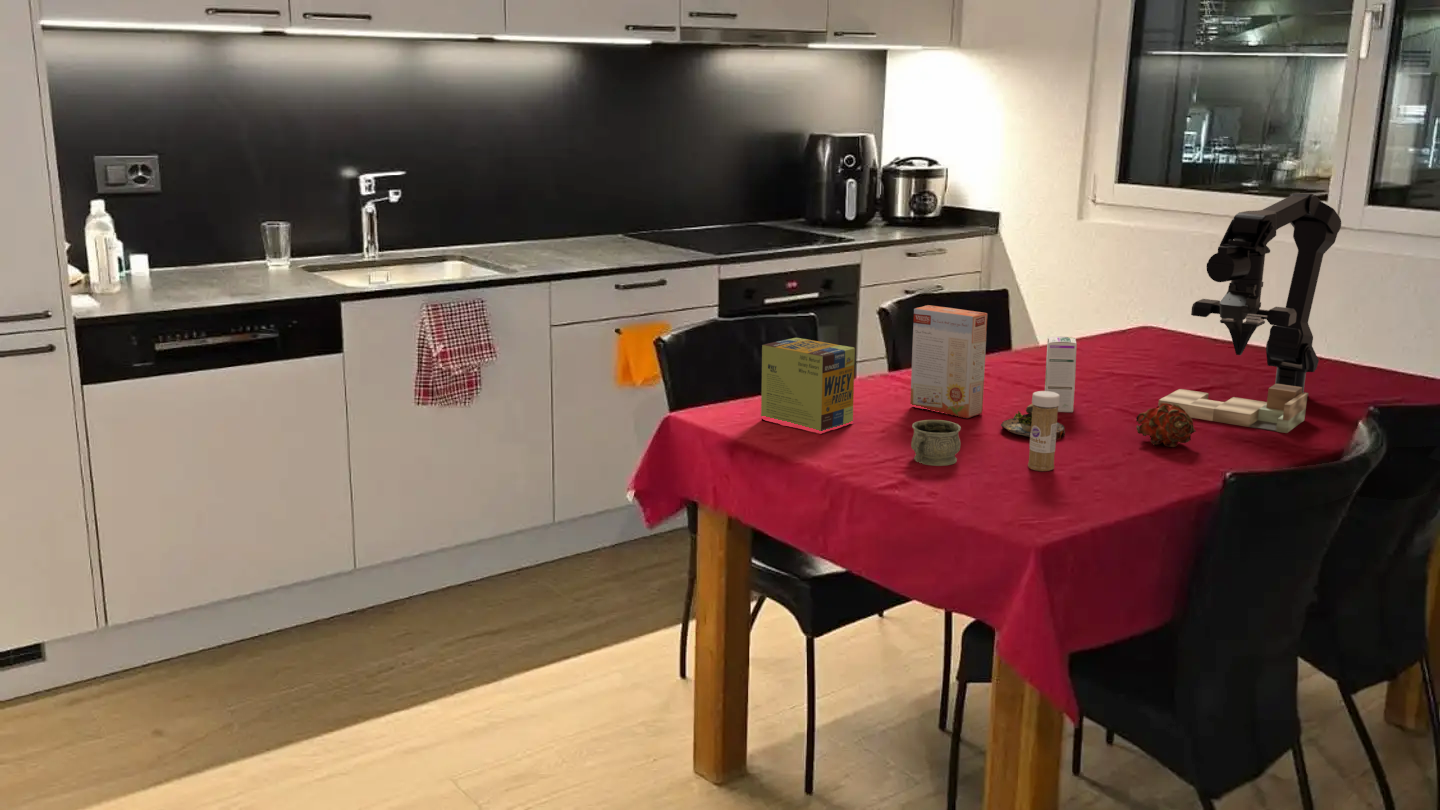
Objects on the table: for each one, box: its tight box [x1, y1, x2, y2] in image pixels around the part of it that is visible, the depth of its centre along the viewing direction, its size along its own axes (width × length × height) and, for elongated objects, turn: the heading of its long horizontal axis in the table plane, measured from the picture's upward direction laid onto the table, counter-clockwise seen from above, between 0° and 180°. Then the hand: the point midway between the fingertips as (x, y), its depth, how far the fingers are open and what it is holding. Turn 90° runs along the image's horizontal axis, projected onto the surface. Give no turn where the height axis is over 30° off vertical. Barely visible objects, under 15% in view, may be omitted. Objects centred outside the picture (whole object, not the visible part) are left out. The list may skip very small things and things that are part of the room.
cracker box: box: [909, 304, 988, 419], centre depth 258 cm, size 14×6×21 cm, turn 47°
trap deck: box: [1157, 388, 1309, 434], centre depth 256 cm, size 12×25×6 cm, turn 51°
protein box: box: [760, 337, 856, 431], centre depth 250 cm, size 10×15×16 cm
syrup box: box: [1044, 336, 1078, 413], centre depth 261 cm, size 6×6×14 cm
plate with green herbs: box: [1000, 403, 1066, 441], centre depth 244 cm, size 12×12×8 cm
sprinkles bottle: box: [1027, 390, 1060, 472], centre depth 222 cm, size 5×5×14 cm
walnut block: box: [1266, 383, 1302, 410], centre depth 253 cm, size 5×5×4 cm
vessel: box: [910, 419, 962, 467], centre depth 228 cm, size 12×9×6 cm
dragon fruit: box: [1135, 403, 1197, 448], centre depth 237 cm, size 8×8×12 cm
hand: (1238, 354), depth 256 cm, fingers closed
